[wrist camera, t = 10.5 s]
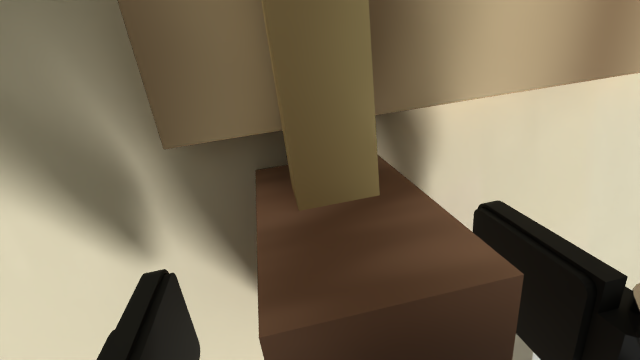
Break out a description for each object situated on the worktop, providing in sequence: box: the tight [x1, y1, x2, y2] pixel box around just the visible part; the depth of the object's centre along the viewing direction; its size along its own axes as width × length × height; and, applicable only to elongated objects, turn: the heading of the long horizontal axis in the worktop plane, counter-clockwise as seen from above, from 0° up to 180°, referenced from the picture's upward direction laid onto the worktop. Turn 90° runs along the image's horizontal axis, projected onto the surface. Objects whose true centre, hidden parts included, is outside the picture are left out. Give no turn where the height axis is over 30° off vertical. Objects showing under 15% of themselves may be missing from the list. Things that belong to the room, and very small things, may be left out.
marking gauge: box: [256, 0, 524, 360], centre depth 7 cm, size 4×16×7 cm, turn 7°
